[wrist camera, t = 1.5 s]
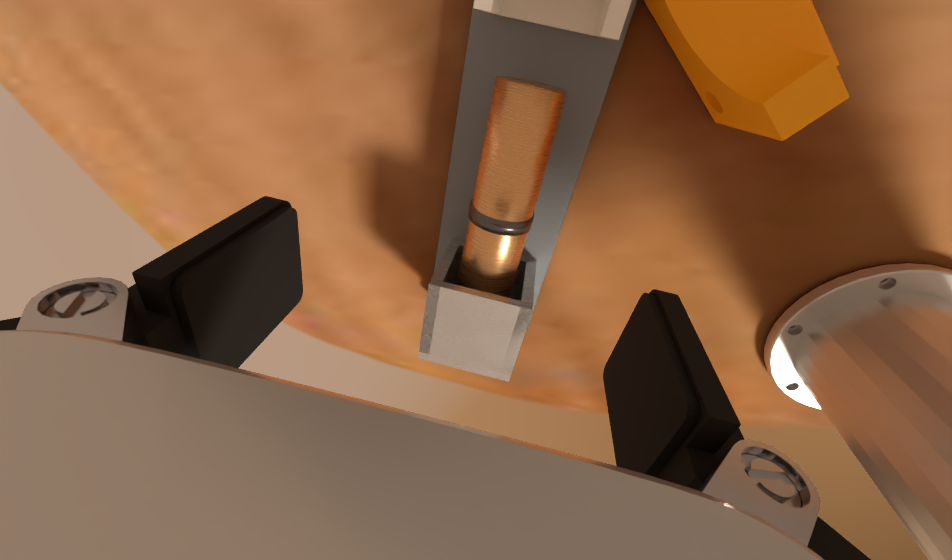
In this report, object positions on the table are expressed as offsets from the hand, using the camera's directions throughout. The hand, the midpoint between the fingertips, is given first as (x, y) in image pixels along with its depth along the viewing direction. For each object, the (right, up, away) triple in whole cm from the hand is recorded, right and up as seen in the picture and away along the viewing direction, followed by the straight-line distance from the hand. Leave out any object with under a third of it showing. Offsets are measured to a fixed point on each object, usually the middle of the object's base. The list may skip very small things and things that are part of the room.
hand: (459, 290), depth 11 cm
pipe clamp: (+12, +15, +9) cm, 21 cm away
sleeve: (+1, 0, +19) cm, 19 cm away
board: (+3, +8, +15) cm, 17 cm away
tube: (+2, +4, +15) cm, 15 cm away
